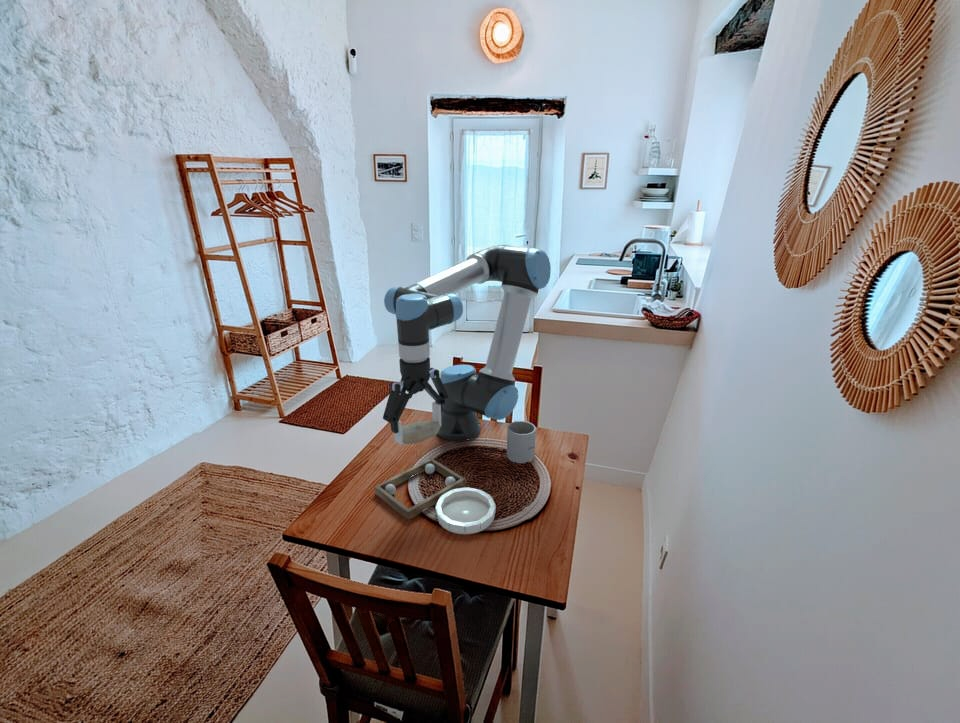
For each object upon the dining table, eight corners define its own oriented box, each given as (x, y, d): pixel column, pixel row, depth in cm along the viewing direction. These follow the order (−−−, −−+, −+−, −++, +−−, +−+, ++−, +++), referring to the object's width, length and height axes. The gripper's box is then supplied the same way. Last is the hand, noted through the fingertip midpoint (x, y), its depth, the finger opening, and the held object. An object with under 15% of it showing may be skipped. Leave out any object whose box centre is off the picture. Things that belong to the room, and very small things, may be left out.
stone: (446, 429, 125) (408, 431, 117) (437, 446, 128) (399, 450, 120) (436, 414, 129) (398, 416, 121) (427, 431, 131) (390, 434, 123)
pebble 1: (391, 489, 131) (391, 480, 130) (398, 494, 129) (397, 485, 128) (382, 494, 129) (382, 484, 128) (389, 499, 127) (388, 489, 126)
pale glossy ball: (430, 468, 141) (430, 460, 139) (437, 473, 139) (436, 464, 137) (422, 473, 139) (422, 464, 137) (429, 477, 137) (428, 468, 135)
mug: (524, 466, 142) (525, 437, 138) (501, 456, 147) (502, 428, 143) (545, 449, 151) (547, 421, 147) (522, 440, 156) (524, 413, 152)
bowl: (466, 488, 132) (466, 480, 131) (506, 514, 122) (506, 505, 121) (424, 513, 122) (424, 505, 121) (464, 543, 112) (464, 535, 111)
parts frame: (431, 464, 142) (431, 457, 142) (465, 486, 133) (465, 478, 132) (375, 494, 129) (374, 486, 128) (408, 520, 119) (407, 512, 119)
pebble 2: (450, 481, 135) (450, 473, 134) (457, 486, 133) (457, 477, 132) (442, 486, 133) (442, 477, 132) (450, 491, 131) (449, 482, 130)
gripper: (441, 342, 127) (443, 412, 135) (363, 366, 111) (371, 445, 119) (460, 349, 122) (461, 422, 130) (381, 375, 106) (388, 456, 114)
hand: (418, 433), depth 124 cm, fingers closed on stone, 12 cm apart
